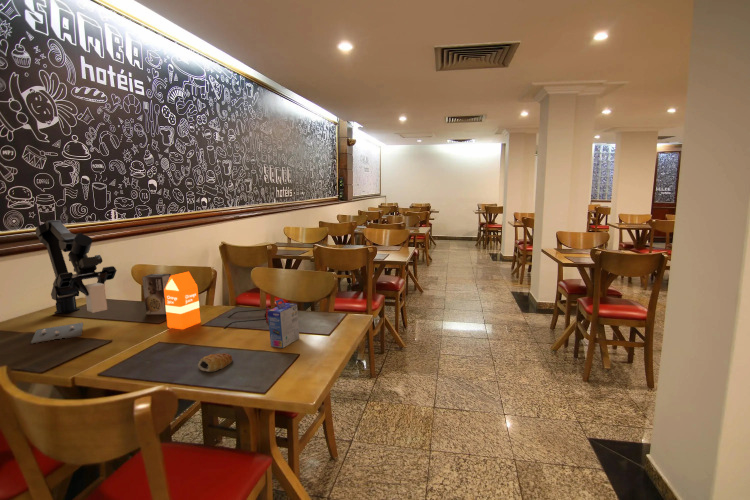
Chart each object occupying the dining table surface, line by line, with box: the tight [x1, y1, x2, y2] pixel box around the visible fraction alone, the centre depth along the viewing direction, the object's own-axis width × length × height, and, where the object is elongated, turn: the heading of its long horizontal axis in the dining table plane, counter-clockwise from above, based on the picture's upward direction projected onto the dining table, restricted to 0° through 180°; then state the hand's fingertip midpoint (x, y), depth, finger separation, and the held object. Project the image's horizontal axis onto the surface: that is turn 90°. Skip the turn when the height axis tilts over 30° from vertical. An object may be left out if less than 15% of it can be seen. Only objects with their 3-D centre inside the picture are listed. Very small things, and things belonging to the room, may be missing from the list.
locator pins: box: [42, 325, 74, 336], centre depth 148 cm, size 5×9×2 cm, turn 123°
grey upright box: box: [142, 273, 172, 315], centre depth 173 cm, size 9×6×16 cm
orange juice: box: [164, 271, 201, 330], centre depth 156 cm, size 8×9×20 cm
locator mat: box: [30, 322, 84, 344], centre depth 150 cm, size 16×14×1 cm
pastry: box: [197, 352, 233, 373], centre depth 120 cm, size 9×7×4 cm
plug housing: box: [84, 282, 108, 314], centre depth 157 cm, size 5×5×10 cm
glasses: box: [223, 304, 271, 330], centre depth 160 cm, size 14×16×5 cm
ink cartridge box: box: [267, 298, 300, 349], centre depth 136 cm, size 10×6×14 cm, turn 158°
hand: (96, 293), depth 157 cm, fingers closed on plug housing, 5 cm apart
